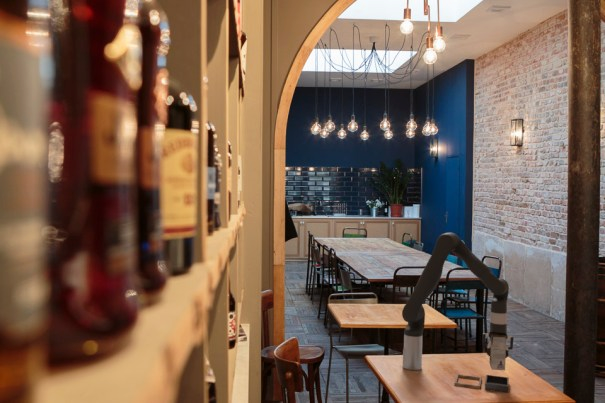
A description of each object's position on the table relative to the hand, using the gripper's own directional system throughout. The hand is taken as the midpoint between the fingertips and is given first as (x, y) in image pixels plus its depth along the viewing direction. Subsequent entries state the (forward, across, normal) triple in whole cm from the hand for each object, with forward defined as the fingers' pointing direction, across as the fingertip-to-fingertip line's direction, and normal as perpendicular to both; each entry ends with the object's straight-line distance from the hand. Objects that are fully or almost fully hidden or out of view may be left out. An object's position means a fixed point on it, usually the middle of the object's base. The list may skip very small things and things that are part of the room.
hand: (497, 356), depth 261 cm
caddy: (+14, 0, 0) cm, 14 cm away
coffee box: (+5, 0, 0) cm, 5 cm away
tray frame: (+14, -13, 0) cm, 19 cm away
